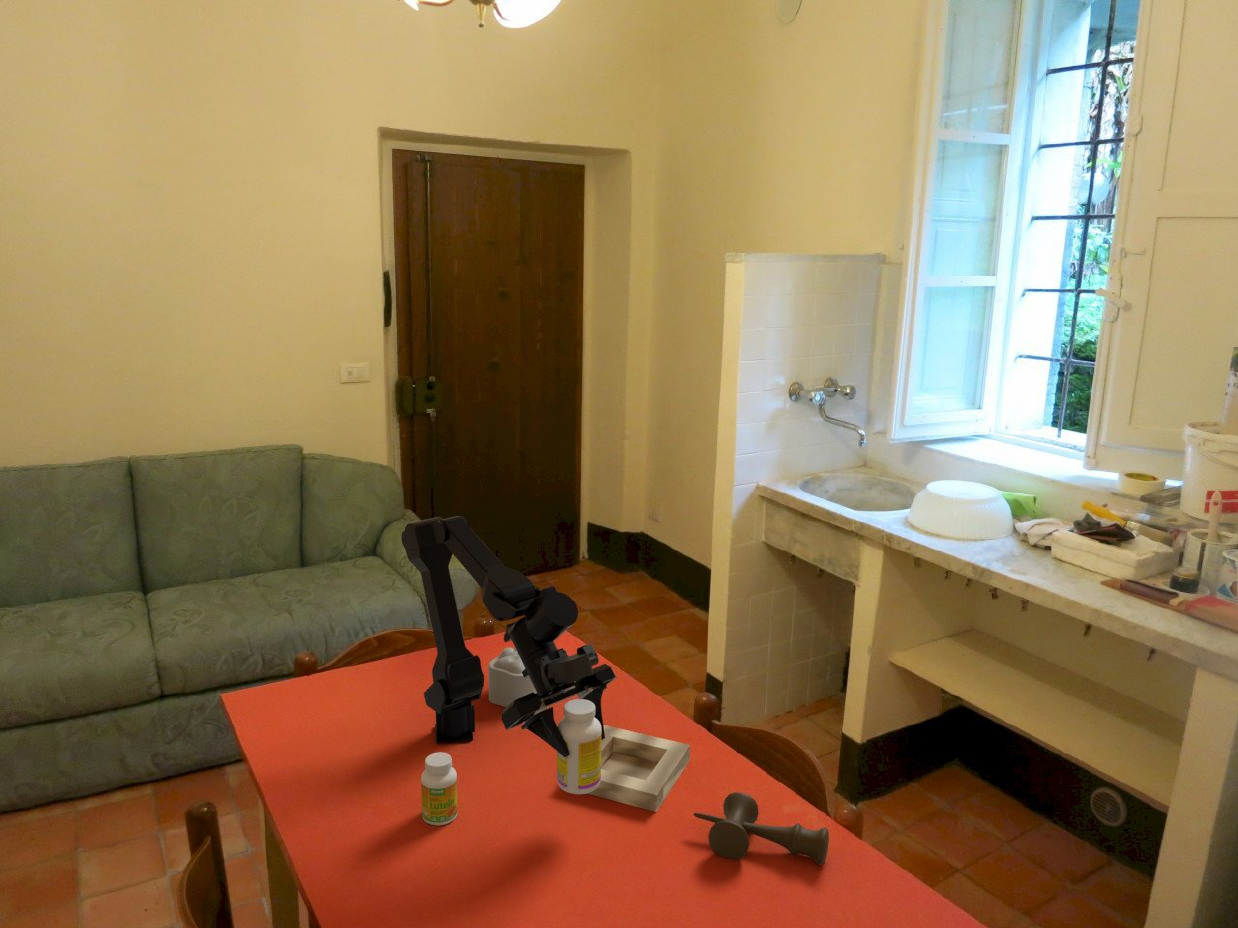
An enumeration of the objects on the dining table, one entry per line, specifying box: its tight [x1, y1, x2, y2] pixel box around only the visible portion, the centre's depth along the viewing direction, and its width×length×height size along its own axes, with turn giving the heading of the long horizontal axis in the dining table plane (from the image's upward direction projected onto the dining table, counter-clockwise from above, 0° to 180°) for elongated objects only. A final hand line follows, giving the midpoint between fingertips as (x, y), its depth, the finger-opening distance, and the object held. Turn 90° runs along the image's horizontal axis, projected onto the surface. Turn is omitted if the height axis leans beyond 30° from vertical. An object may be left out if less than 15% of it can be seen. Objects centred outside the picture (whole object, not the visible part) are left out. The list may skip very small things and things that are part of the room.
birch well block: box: [586, 724, 691, 813], centre depth 154 cm, size 16×16×3 cm
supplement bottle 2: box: [556, 698, 602, 795], centre depth 139 cm, size 7×7×13 cm
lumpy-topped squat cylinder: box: [487, 647, 537, 708], centre depth 180 cm, size 10×13×9 cm
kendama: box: [693, 791, 830, 866], centre depth 137 cm, size 6×10×20 cm
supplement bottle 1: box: [420, 752, 459, 826], centre depth 142 cm, size 5×5×10 cm
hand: (585, 747), depth 138 cm, fingers closed on supplement bottle 2, 7 cm apart
